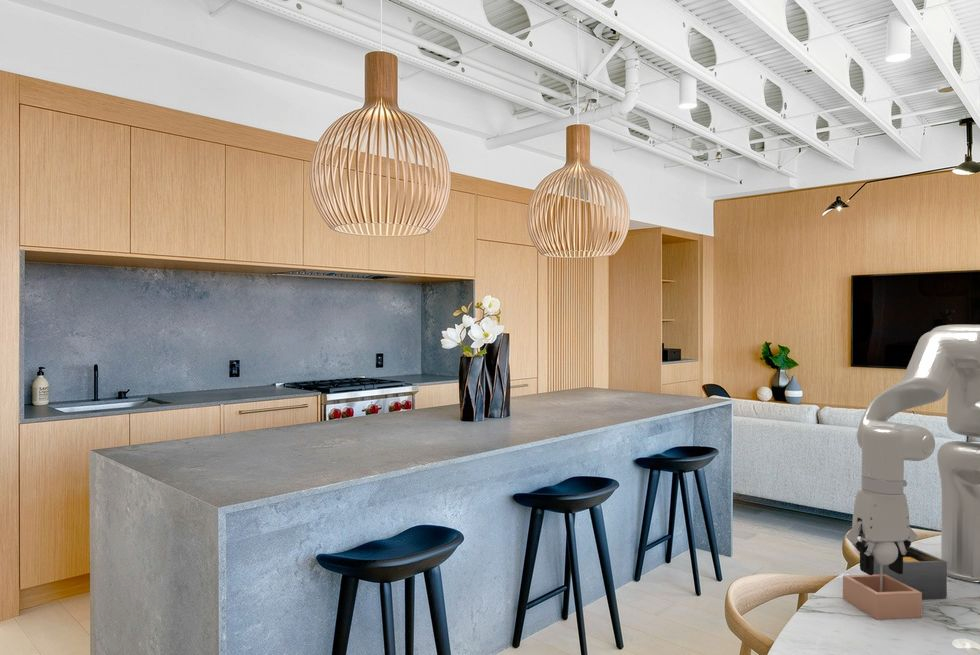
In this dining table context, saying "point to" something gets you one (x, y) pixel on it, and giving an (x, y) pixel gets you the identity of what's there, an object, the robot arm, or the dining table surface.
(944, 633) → the dining table surface
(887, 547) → the lollipop
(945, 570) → the box
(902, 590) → the tool holder
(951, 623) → the dining table surface
